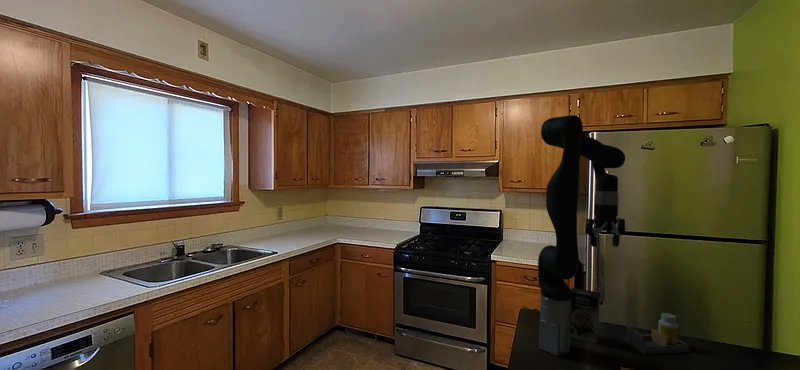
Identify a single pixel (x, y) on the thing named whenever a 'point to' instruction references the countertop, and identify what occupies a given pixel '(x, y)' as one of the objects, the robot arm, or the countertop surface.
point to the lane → (652, 344)
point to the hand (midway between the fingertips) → (604, 246)
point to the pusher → (659, 337)
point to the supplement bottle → (669, 328)
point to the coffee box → (585, 315)
